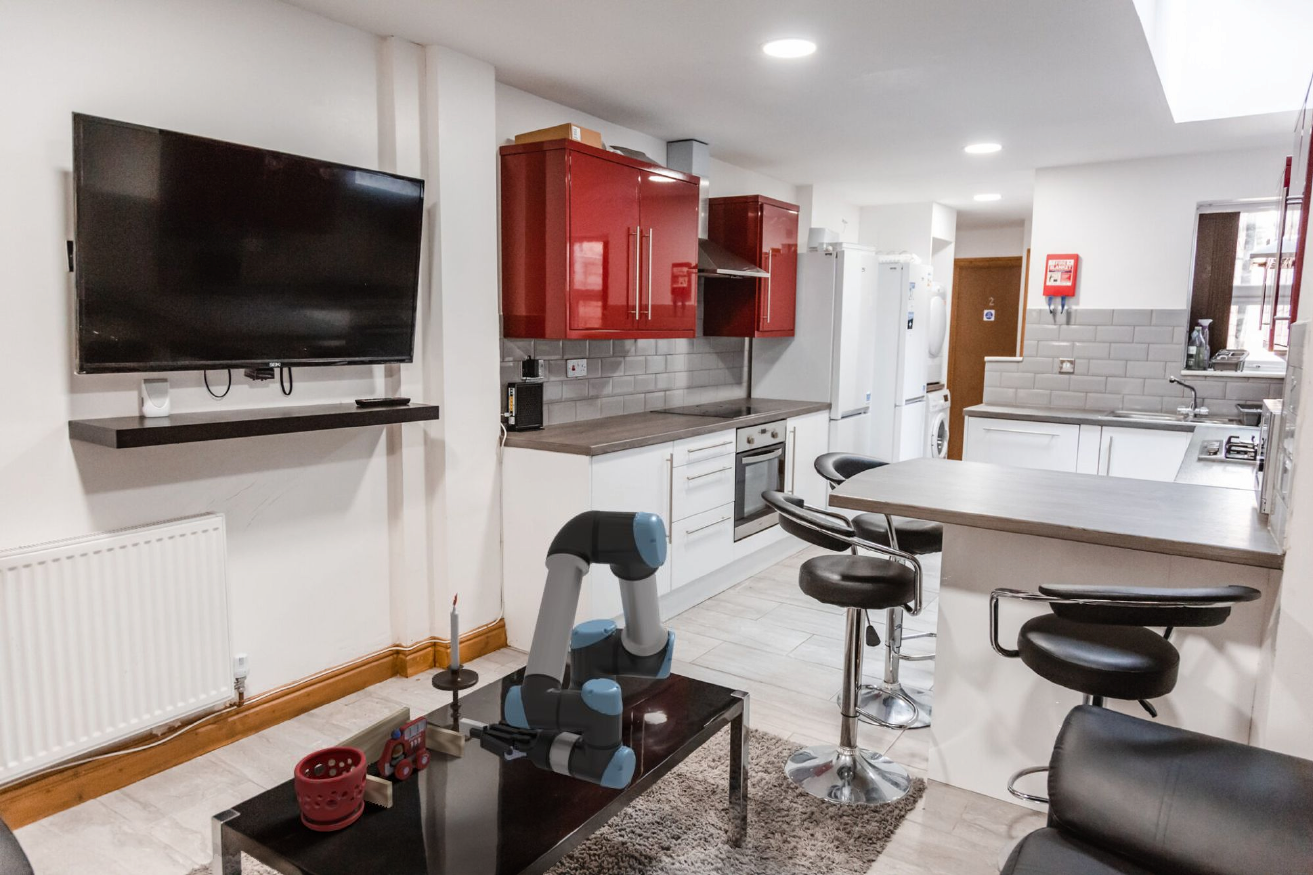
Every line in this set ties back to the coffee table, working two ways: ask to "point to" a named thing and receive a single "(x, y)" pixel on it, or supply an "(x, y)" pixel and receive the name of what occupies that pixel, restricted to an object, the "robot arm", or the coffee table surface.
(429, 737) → the box
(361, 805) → the plant pot
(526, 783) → the coffee table surface
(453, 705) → the candlestick
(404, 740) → the toy fire truck
